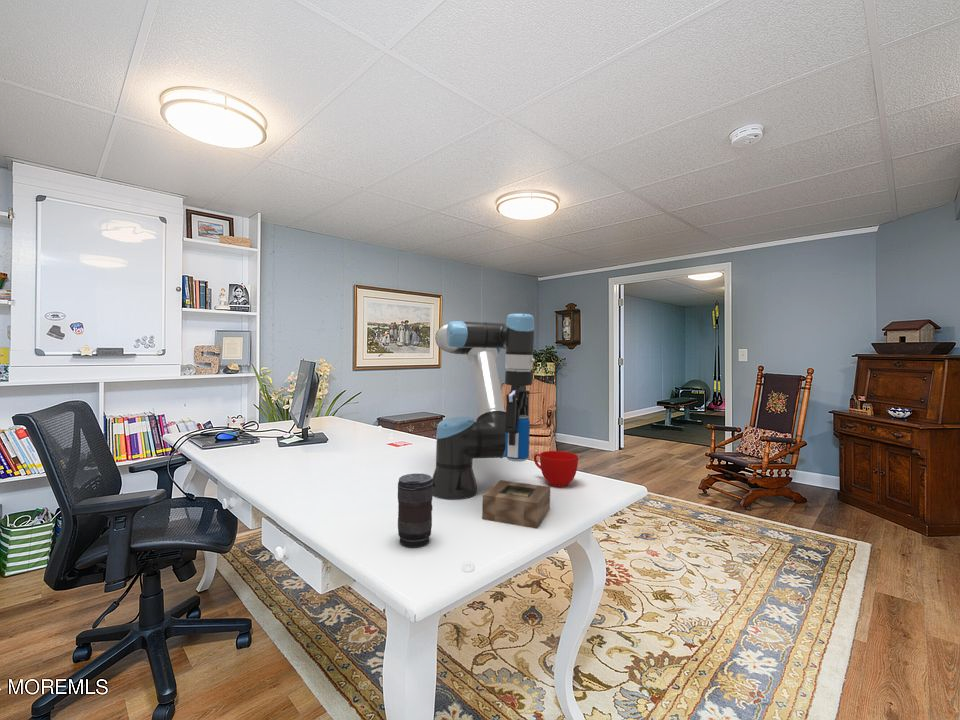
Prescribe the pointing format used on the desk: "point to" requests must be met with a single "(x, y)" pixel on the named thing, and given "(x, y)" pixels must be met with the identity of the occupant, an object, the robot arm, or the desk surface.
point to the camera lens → (415, 509)
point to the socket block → (516, 504)
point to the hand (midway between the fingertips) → (516, 454)
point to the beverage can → (521, 440)
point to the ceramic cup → (557, 467)
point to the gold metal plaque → (517, 492)
